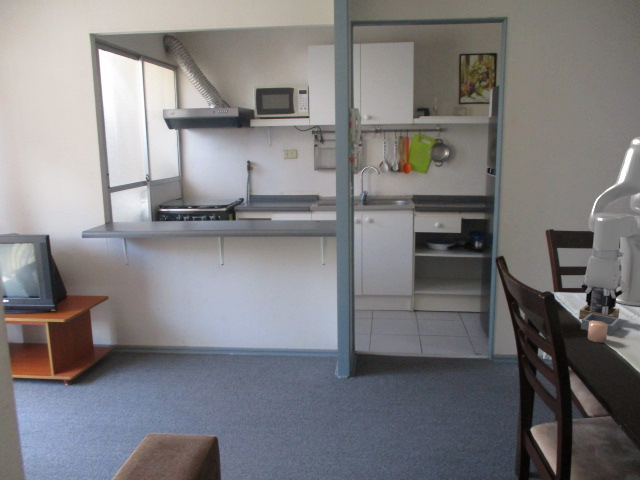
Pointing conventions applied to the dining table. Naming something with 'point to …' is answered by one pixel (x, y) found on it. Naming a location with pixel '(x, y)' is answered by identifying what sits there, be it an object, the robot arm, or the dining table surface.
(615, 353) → the dining table surface
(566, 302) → the dining table surface
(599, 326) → the peach rounded capsule
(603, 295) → the pill bottle
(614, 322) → the gray square open tray
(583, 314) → the brown wooden open tray
